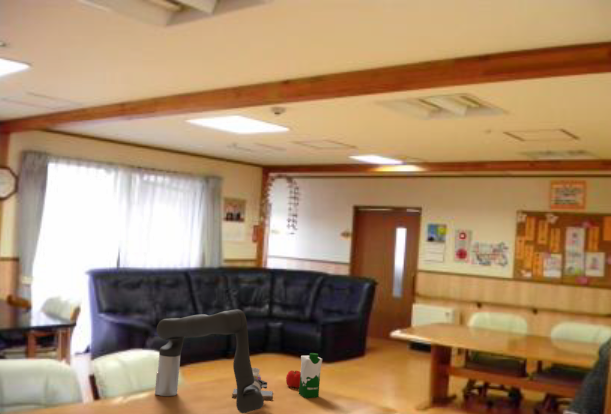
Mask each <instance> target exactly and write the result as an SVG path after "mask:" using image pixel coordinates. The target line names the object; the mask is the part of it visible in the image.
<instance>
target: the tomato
mask: <svg viewBox="0 0 611 414" xmlns="http://www.w3.org/2000/svg"><path fill="white" fill-rule="evenodd" d="M300 375H301V370H289V371H288V373H287V374H286V377H285V383H286V385H287V386H288V387H289V388H295V389H297V388H299V387H300Z"/></svg>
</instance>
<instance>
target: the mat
mask: <svg viewBox="0 0 611 414" xmlns="http://www.w3.org/2000/svg"><path fill="white" fill-rule="evenodd" d="M232 393H237V388H233V391H232ZM261 394H262V395H271V396H272V397H273V391H272V390H261Z"/></svg>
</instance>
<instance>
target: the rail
mask: <svg viewBox="0 0 611 414" xmlns="http://www.w3.org/2000/svg"><path fill="white" fill-rule="evenodd" d="M231 394H232V395H231V398H232V399H233V398H234V399H237V393H233V392H232V393H231ZM262 396H263V399H264V401H273V395H272V396H271V395H262Z"/></svg>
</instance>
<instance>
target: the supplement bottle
mask: <svg viewBox="0 0 611 414" xmlns="http://www.w3.org/2000/svg"><path fill="white" fill-rule="evenodd" d="M252 371H253V376H254V377H255V378H257V380H258V379H260V380H262V376H261V374H259V373H260V368H258V367H252Z"/></svg>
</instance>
